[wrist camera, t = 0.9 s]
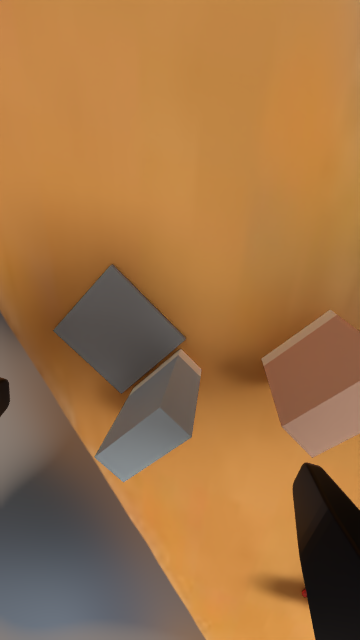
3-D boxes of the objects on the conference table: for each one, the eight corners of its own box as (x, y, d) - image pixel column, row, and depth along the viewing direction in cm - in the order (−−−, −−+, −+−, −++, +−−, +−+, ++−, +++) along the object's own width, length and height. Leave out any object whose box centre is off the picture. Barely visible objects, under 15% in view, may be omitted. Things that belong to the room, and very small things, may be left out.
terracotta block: (351, 334, 19) (429, 397, 12) (281, 380, 21) (312, 457, 14) (330, 309, 18) (396, 359, 11) (261, 358, 20) (281, 426, 13)
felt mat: (185, 338, 21) (185, 339, 20) (122, 391, 23) (121, 393, 23) (112, 264, 20) (110, 264, 19) (55, 329, 22) (53, 330, 22)
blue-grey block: (201, 369, 21) (191, 437, 14) (153, 406, 23) (123, 482, 16) (180, 348, 21) (159, 407, 14) (133, 388, 23) (94, 457, 16)
